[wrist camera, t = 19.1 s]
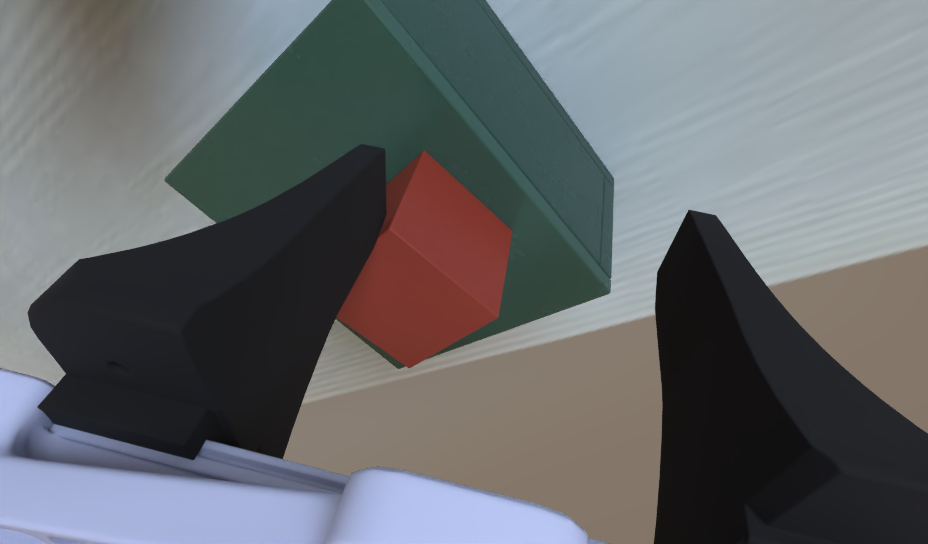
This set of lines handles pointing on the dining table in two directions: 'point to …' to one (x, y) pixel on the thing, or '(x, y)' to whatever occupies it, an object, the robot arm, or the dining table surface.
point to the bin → (517, 112)
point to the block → (429, 266)
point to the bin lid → (401, 134)
